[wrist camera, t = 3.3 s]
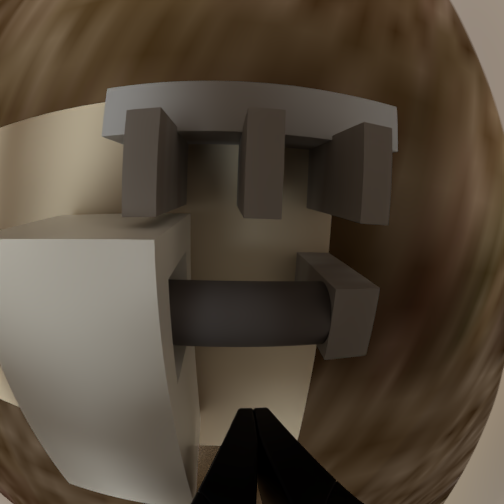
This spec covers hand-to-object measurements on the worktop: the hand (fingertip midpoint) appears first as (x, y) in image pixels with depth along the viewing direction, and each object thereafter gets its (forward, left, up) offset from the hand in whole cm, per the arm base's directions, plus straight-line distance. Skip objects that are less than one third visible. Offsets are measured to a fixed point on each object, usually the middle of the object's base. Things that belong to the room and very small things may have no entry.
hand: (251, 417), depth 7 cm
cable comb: (+3, +9, -3) cm, 10 cm away
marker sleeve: (+2, +4, -2) cm, 4 cm away
